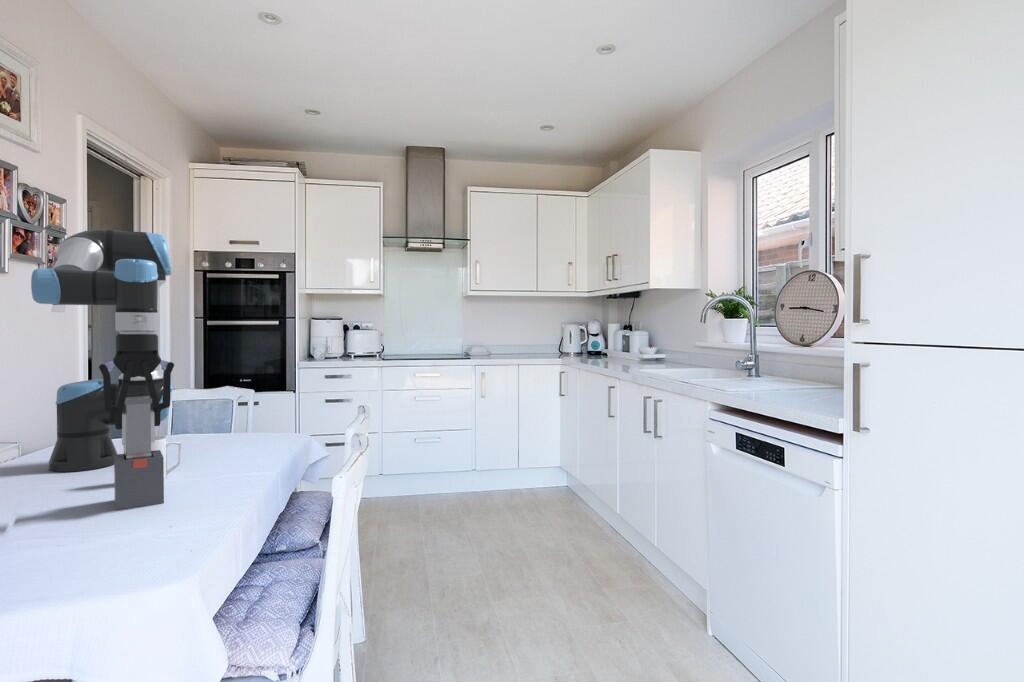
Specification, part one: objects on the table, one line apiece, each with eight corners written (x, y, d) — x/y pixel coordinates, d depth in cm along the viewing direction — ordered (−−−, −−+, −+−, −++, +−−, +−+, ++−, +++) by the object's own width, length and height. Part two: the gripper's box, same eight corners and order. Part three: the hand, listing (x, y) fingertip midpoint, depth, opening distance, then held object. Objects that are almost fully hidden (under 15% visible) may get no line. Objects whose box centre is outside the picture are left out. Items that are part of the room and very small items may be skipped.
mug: (121, 490, 134) (121, 443, 134) (126, 481, 142) (126, 436, 142) (180, 484, 140) (180, 439, 140) (182, 476, 148) (182, 433, 148)
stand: (92, 506, 123) (92, 454, 123) (178, 494, 132) (178, 445, 132) (92, 522, 113) (91, 465, 113) (185, 507, 123) (185, 455, 122)
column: (125, 499, 123) (123, 397, 123) (151, 496, 126) (150, 396, 125) (126, 505, 119) (124, 400, 119) (153, 501, 122) (152, 398, 121)
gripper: (86, 333, 113) (87, 451, 114) (186, 333, 124) (187, 441, 124) (86, 332, 120) (88, 444, 120) (181, 332, 130) (182, 435, 130)
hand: (138, 442), depth 122 cm, fingers closed on column, 4 cm apart
